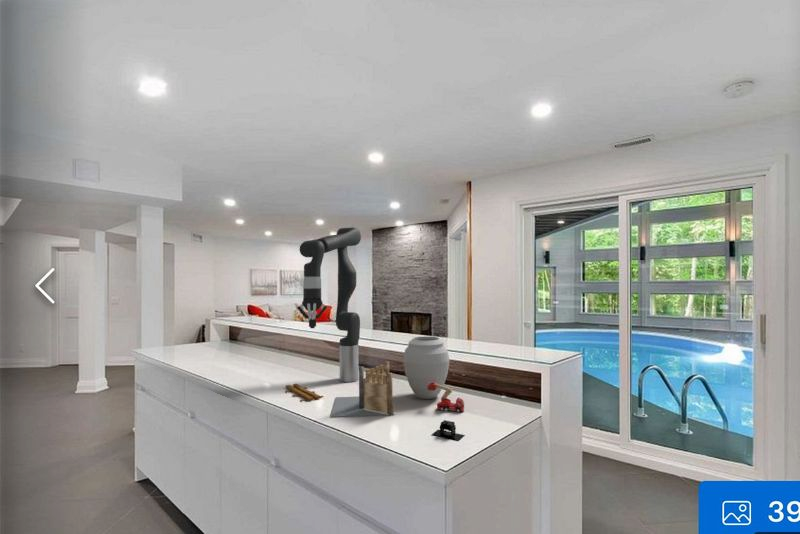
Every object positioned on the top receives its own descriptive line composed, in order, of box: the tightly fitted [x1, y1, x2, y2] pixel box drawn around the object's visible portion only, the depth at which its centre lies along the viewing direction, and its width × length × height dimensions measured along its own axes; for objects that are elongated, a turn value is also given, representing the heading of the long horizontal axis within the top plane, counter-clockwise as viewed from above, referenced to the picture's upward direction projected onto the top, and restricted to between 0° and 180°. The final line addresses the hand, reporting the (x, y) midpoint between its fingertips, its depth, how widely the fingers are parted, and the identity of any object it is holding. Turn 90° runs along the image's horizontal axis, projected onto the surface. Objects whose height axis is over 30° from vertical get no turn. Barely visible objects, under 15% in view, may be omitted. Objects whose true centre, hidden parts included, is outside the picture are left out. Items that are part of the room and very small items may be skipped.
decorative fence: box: [284, 383, 325, 402], centre depth 172 cm, size 25×2×10 cm
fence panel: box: [364, 360, 390, 406], centre depth 159 cm, size 16×2×14 cm, turn 146°
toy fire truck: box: [428, 382, 465, 413], centre depth 149 cm, size 3×14×10 cm, turn 71°
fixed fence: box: [358, 365, 394, 417], centre depth 148 cm, size 15×2×16 cm, turn 59°
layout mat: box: [330, 395, 395, 418], centre depth 154 cm, size 24×23×1 cm
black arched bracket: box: [430, 419, 466, 442], centre depth 125 cm, size 12×7×5 cm, turn 59°
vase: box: [402, 336, 450, 400], centre depth 166 cm, size 20×20×24 cm
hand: (312, 328), depth 168 cm, fingers closed
